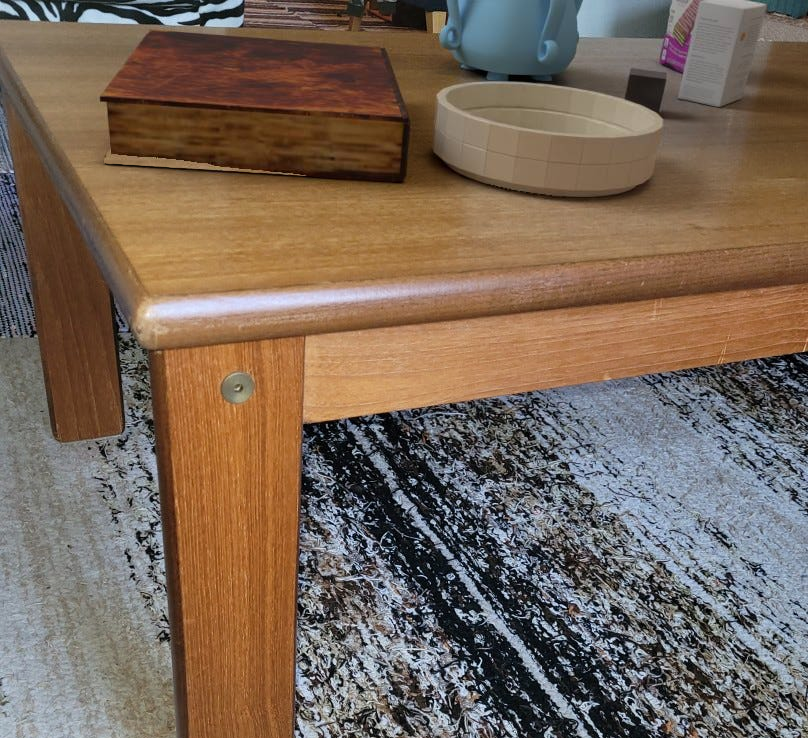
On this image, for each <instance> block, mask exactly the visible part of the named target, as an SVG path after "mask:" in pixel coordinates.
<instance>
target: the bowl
mask: <svg viewBox="0 0 808 738" xmlns="http://www.w3.org/2000/svg"><path fill="white" fill-rule="evenodd" d="M433 117H434V118H433V126H432V127H433V128H432V138H431V147H432V151H433V153H434V154H435V155H436V156H437V157H439V159H441V160H442V161H443V163H444V164H445V165H446V166H447V167H448V168H450V169H451V170H452V171H454V172H456V173H458V174H459V175H461V176H464V177H466V178H468V179H470V180H473V181H476V182H478V183H482V184H486V185H489V184H490V186H493V185H495V186H494V187H496V186H498V187H497V188H500V187H503V188H502V189H505V188H507V189H506V190H509V189H511V191H514V190H517V191H516V192H520V191H525V192H524V193H526V192H532V193H531V194H533V193H538V194H537V195H540V194H545V195H544V196H550V195H552V196H551V197H563V196H565V197H566V198H595V197H606V196H612V195H617V194H622V193H625V192H628V191H631V190H632V189H635V188H636V187H637V186H638V185H642V184H644V183H645V182H647V181H648V180H650V179H651V178H652V177H653V174H654V170H655V166H656V160H657V156H658V152H659V147H660V142H661V139H662V134H663V129H664V119H663V118H662V117H661V115H660V114H659V115H658V114H657V113H656V112H654V111H652V110H650V109H648V108H646V107H644V106H642V105H639V104H636V103H633V102H631V101H628V100H625V98H623V97H618V96H614V95H610V94H606V93H602V92H597V91H593V90H587V89H581V88H577V87H569V86H563V85H555V84H548V83H538V82H537V83H536V82H526V81H525V82H524V81H493V80H490V81H474V82H472V81H471V82H466V83H457V84H454V85H450V86H447V87H444V88H442V89H440V91H438V93H436V97H435V107H434V116H433Z"/></svg>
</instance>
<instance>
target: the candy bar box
mask: <svg viewBox="0 0 808 738" xmlns="http://www.w3.org/2000/svg"><path fill="white" fill-rule="evenodd" d="M700 1H704V0H671V3H670V7H669V13H668V16H667V22H666V27H665V32H664V36H663V41H662V46H661V51H660V54H659V60H658V63H660V64H662V65H665V66H666V67H668V68H671V69H673V70H675V71H677V72H679V73H681V74H683V72H684V67H685V63H686V59H687V54H688V50H689V46H690V41H691V36H692V32H693V27H694V23H695V19H696V14H697V10H698V5H699V2H700ZM746 1H749V0H746Z"/></svg>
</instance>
